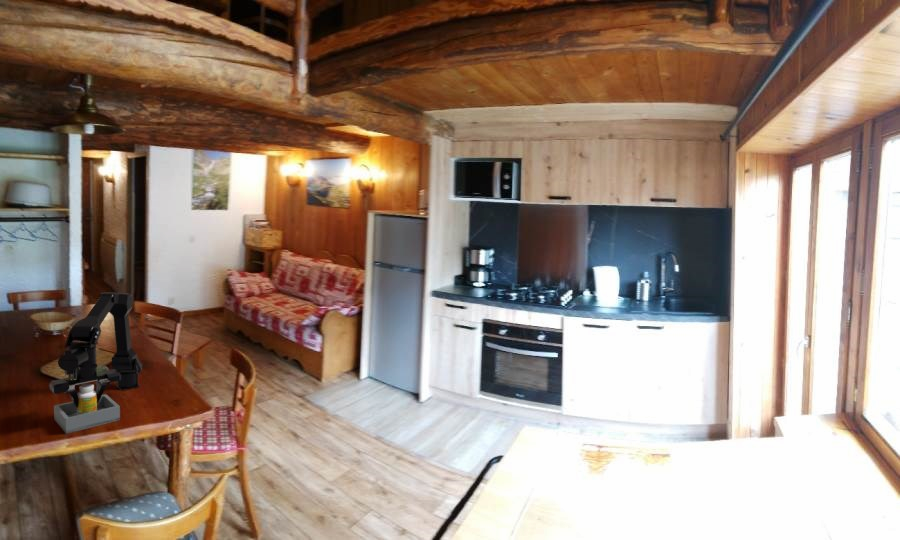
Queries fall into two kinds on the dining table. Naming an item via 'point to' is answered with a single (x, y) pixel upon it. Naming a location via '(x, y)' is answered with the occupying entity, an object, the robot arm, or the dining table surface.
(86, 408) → the supplement bottle
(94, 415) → the tote
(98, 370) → the vegetable
